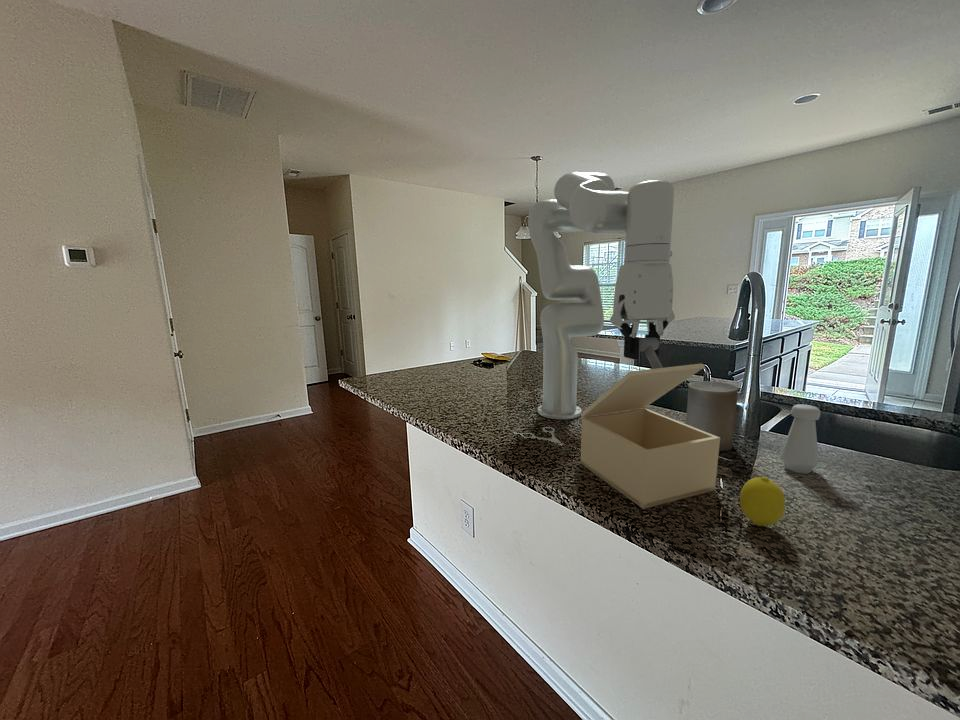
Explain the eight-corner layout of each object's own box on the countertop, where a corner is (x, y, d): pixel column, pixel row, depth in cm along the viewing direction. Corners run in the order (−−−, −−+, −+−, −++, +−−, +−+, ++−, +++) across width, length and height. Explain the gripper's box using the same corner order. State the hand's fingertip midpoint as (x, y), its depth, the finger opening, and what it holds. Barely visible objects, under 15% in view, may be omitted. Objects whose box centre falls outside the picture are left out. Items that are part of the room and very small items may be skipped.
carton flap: (581, 417, 79) (568, 382, 83) (644, 407, 85) (629, 375, 88) (631, 375, 64) (613, 335, 68) (704, 367, 70) (683, 330, 73)
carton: (580, 463, 81) (581, 417, 79) (642, 451, 86) (644, 408, 85) (643, 508, 64) (646, 452, 63) (714, 490, 70) (720, 437, 68)
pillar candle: (734, 440, 91) (740, 378, 88) (731, 455, 83) (737, 387, 81) (687, 432, 97) (692, 373, 94) (680, 446, 89) (685, 382, 86)
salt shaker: (782, 459, 81) (790, 399, 79) (818, 468, 77) (828, 405, 74) (776, 469, 77) (785, 406, 74) (814, 479, 73) (824, 412, 70)
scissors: (545, 424, 104) (603, 449, 87) (545, 427, 104) (603, 453, 87) (512, 432, 98) (567, 461, 81) (512, 435, 98) (567, 465, 82)
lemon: (766, 541, 56) (773, 490, 54) (729, 520, 61) (734, 473, 59) (790, 531, 58) (797, 481, 57) (751, 511, 63) (757, 465, 62)
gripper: (666, 258, 76) (660, 350, 79) (594, 258, 71) (591, 357, 74) (699, 255, 69) (691, 356, 72) (622, 254, 64) (617, 364, 67)
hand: (641, 356), depth 73 cm, fingers closed on carton flap, 4 cm apart
